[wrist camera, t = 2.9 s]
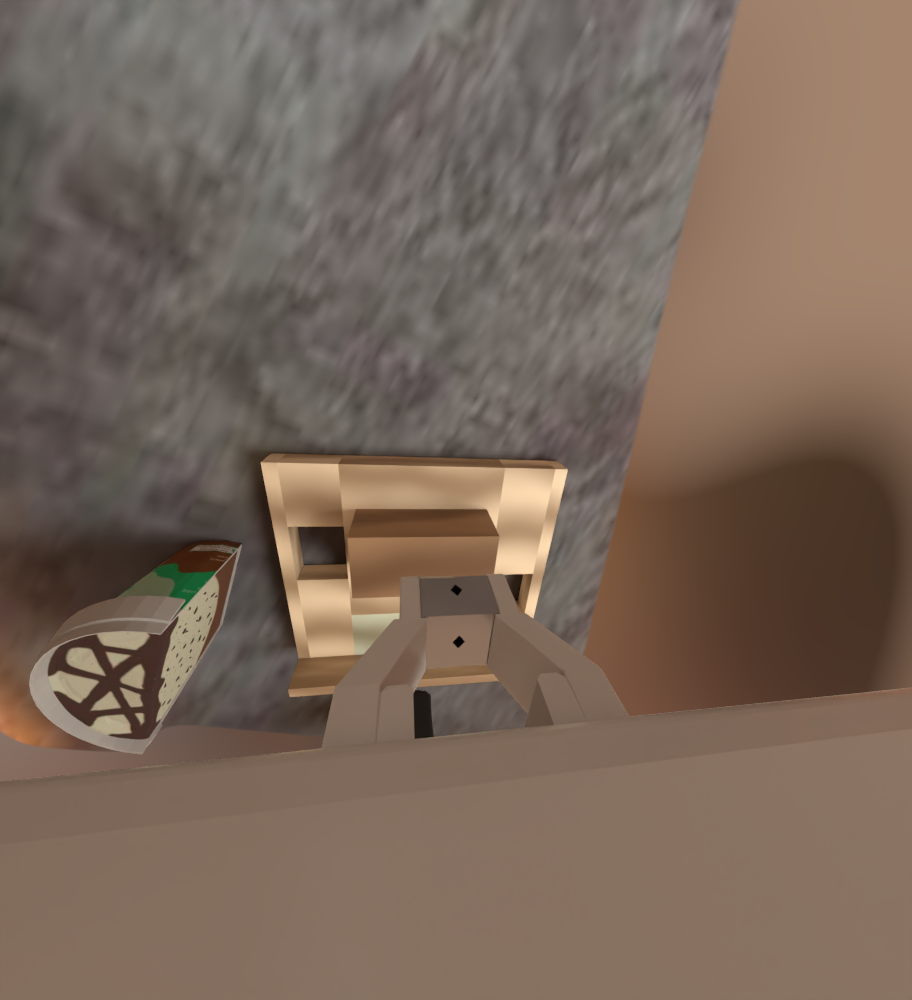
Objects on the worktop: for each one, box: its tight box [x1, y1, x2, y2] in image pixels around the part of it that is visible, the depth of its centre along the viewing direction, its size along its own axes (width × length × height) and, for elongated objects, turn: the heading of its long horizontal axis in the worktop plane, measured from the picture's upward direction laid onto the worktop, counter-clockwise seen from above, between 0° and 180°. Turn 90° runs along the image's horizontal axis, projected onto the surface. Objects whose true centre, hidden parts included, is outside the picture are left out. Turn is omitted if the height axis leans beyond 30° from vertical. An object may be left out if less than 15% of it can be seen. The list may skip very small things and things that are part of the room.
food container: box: [29, 540, 242, 754], centre depth 23 cm, size 12×6×10 cm, turn 155°
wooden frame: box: [261, 453, 568, 697], centre depth 27 cm, size 20×22×5 cm
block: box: [347, 509, 500, 599], centre depth 24 cm, size 5×10×4 cm, turn 86°
